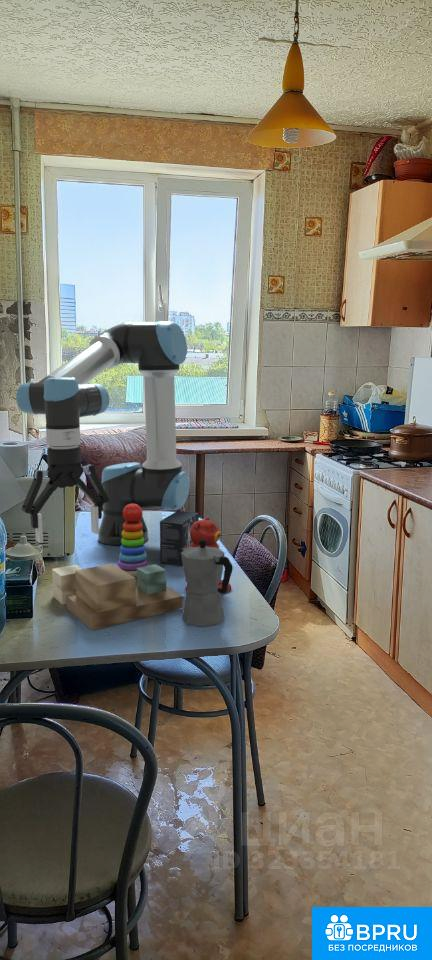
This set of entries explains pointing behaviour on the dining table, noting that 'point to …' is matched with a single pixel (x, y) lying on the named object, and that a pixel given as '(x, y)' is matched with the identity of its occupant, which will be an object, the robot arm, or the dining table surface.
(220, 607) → the coffeepot
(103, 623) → the base
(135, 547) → the stacking toy
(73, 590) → the oak block
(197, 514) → the small box
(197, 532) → the stacking bear
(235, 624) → the dining table surface
